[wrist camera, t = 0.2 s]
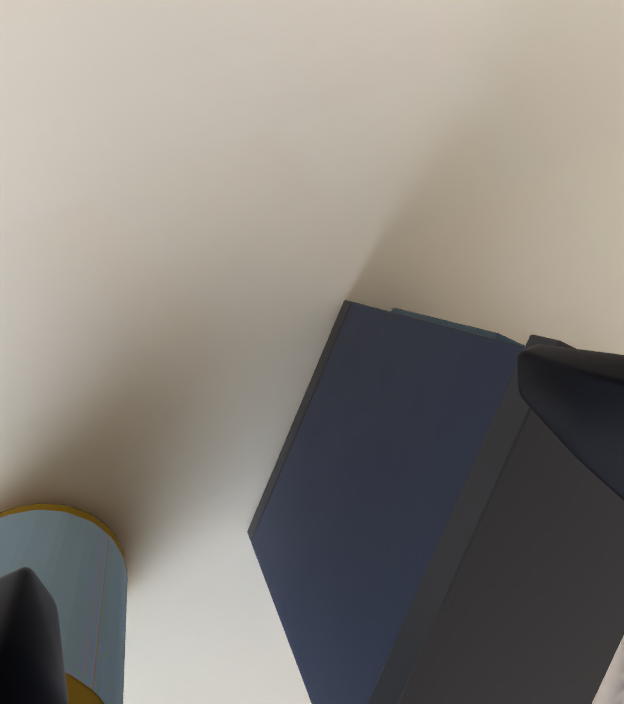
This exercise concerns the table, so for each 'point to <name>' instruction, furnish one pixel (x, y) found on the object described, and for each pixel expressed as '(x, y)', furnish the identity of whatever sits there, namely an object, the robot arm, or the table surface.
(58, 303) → the table surface
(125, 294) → the table surface
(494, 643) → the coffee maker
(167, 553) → the table surface
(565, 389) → the robot arm
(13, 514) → the bottle
